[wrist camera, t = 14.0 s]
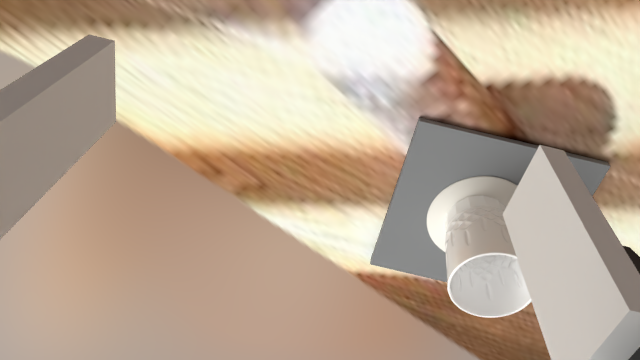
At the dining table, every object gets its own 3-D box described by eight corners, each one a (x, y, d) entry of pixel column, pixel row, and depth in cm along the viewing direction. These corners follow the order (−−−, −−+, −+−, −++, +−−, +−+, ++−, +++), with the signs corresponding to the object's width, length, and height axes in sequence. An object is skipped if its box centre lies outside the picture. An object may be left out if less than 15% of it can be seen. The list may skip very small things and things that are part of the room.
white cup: (423, 220, 54) (429, 285, 46) (480, 175, 51) (498, 237, 42) (473, 260, 56) (487, 329, 48) (532, 220, 53) (558, 287, 44)
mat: (370, 259, 59) (370, 265, 59) (419, 117, 49) (419, 121, 48) (526, 296, 60) (528, 302, 59) (607, 162, 49) (611, 167, 48)
